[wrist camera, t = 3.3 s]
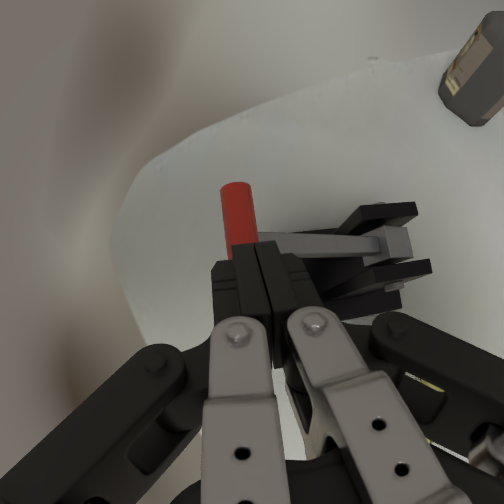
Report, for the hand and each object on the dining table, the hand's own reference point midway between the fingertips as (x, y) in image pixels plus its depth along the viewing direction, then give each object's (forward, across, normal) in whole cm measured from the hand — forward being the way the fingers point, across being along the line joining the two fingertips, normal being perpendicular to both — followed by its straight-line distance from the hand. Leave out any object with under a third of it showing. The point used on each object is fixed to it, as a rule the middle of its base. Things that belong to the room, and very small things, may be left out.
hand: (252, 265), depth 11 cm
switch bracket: (+15, -10, +13) cm, 22 cm away
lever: (+7, -5, +4) cm, 9 cm away
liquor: (+32, -38, -4) cm, 50 cm away
